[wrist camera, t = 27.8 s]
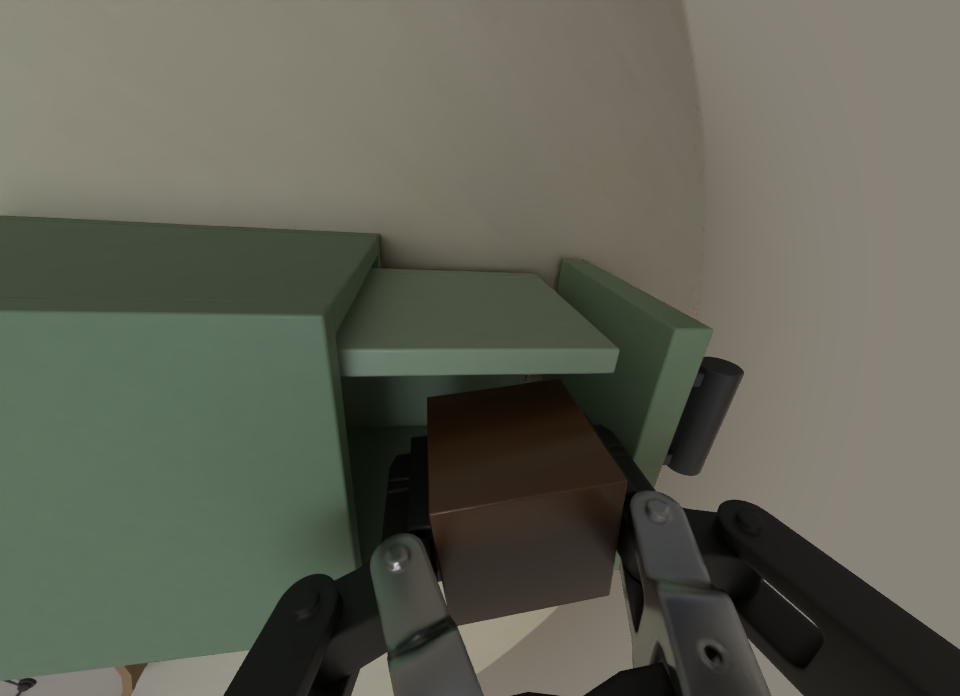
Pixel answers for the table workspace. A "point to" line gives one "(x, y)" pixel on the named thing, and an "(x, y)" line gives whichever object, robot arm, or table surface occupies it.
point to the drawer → (523, 365)
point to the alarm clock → (77, 683)
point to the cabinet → (167, 435)
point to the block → (520, 500)
